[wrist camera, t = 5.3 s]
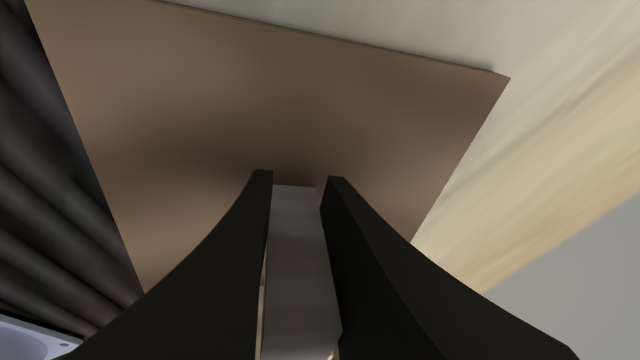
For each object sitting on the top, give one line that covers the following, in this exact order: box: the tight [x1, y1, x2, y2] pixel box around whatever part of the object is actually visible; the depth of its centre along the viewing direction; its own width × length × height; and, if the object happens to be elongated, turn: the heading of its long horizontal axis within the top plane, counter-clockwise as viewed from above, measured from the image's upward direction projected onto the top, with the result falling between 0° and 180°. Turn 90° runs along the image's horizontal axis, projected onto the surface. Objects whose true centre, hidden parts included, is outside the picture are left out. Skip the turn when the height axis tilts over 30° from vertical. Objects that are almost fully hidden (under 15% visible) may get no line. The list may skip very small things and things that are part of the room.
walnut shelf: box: [24, 0, 511, 360], centre depth 13 cm, size 28×15×7 cm, turn 169°
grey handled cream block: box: [255, 185, 343, 360], centre depth 12 cm, size 14×6×6 cm, turn 168°
